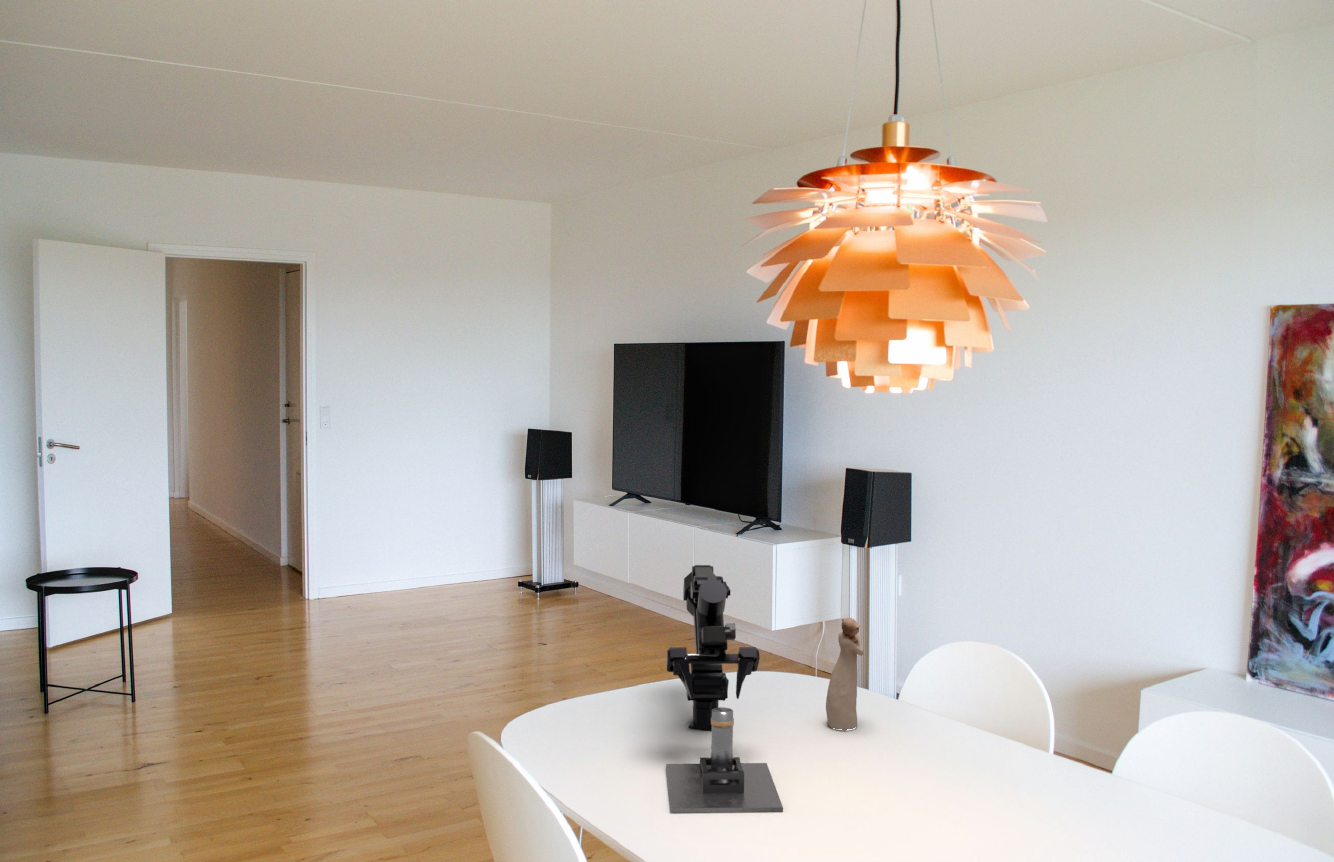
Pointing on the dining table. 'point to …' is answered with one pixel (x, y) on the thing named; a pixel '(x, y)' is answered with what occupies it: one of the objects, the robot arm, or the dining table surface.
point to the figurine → (844, 679)
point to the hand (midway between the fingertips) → (714, 697)
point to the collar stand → (721, 788)
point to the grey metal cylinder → (722, 741)
